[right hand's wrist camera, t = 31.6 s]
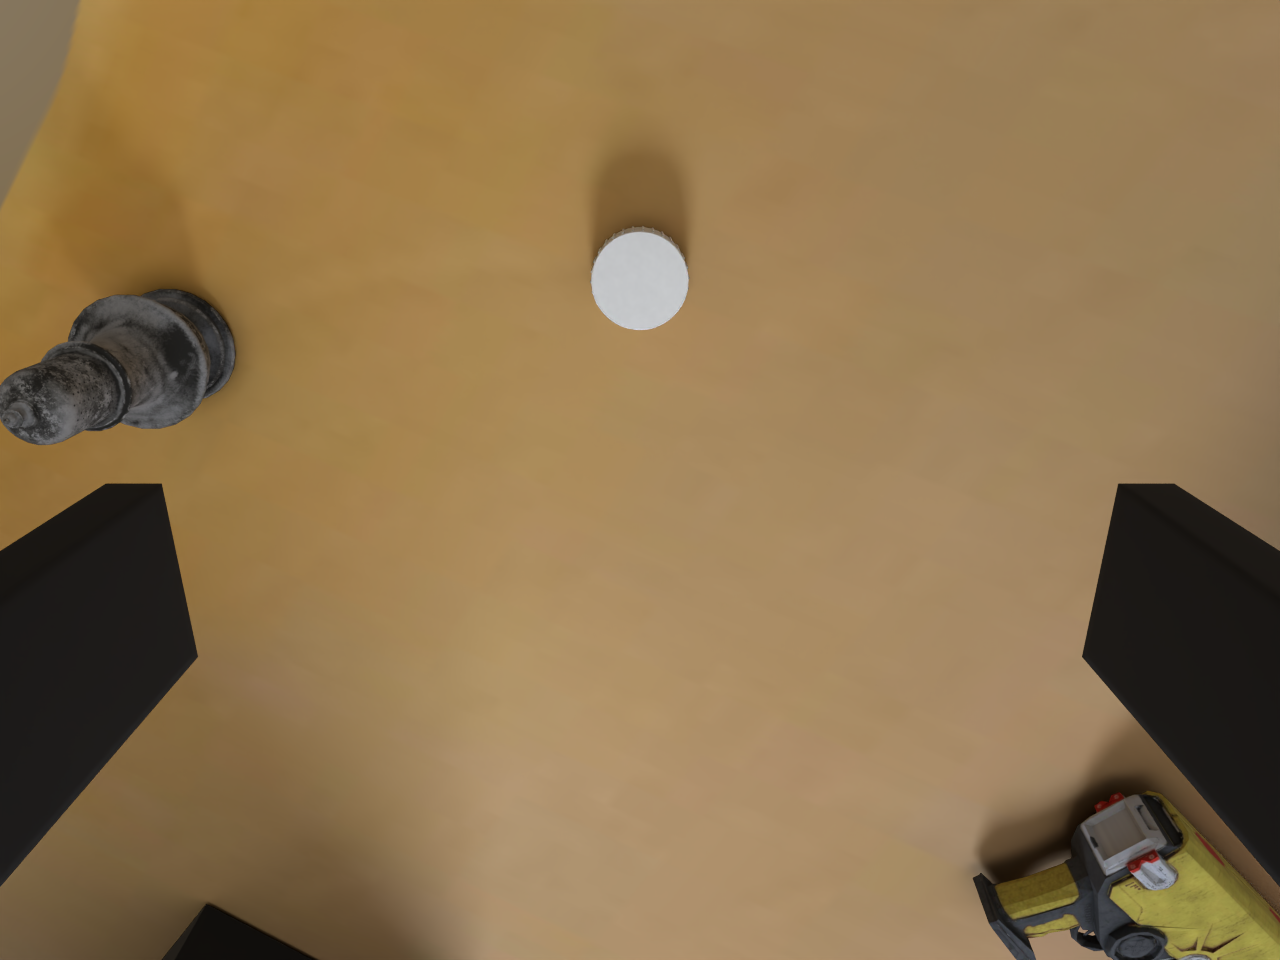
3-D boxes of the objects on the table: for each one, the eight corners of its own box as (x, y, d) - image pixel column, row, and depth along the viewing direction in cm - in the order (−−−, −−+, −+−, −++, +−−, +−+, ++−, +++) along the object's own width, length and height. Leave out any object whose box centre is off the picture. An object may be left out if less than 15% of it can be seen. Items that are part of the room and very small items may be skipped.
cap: (665, 335, 41) (667, 346, 39) (579, 300, 40) (575, 309, 38) (702, 247, 40) (705, 253, 38) (612, 210, 39) (610, 214, 37)
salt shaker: (92, 356, 41) (-112, 436, 30) (149, 255, 40) (-45, 299, 28) (204, 430, 43) (49, 533, 31) (264, 334, 41) (123, 407, 30)
